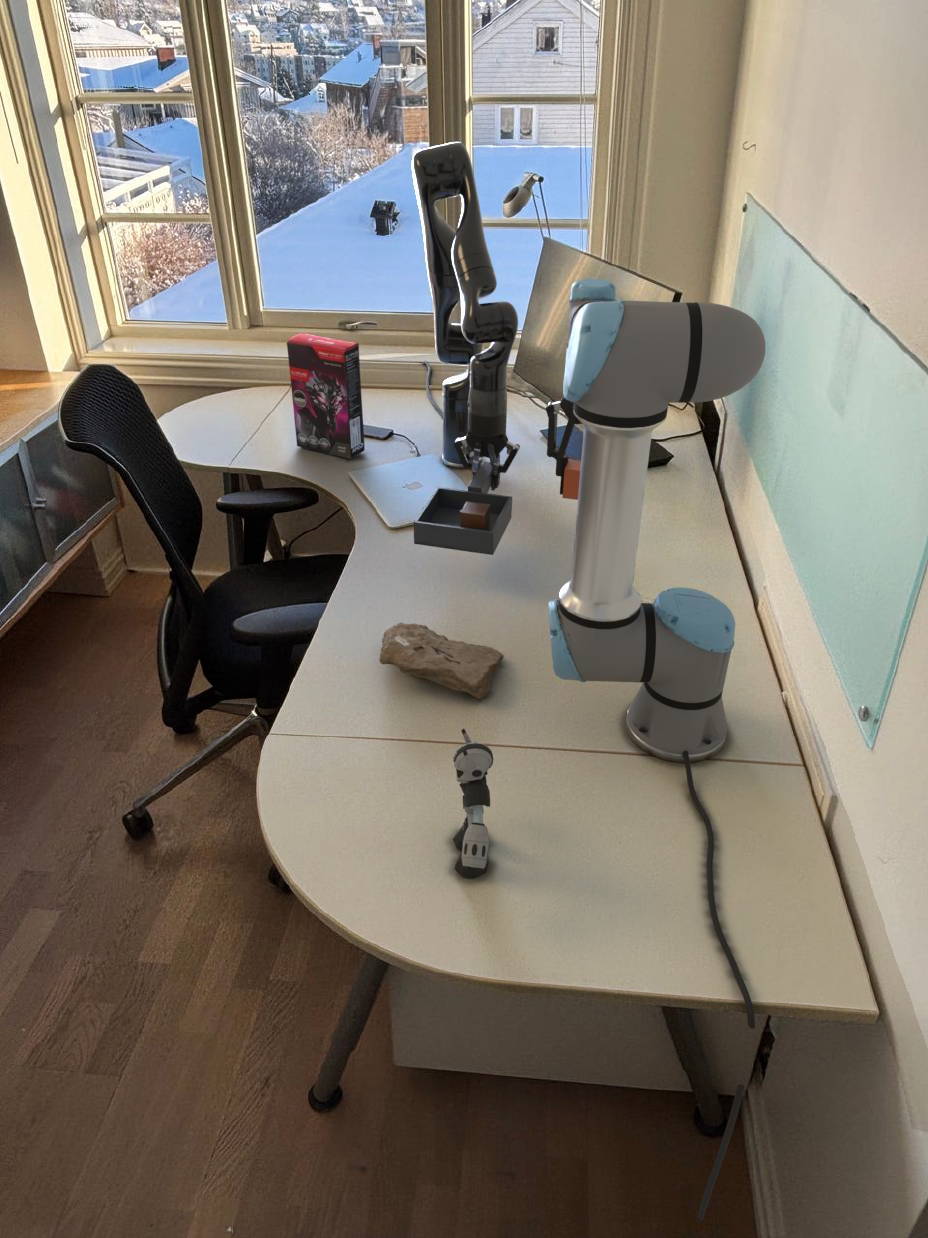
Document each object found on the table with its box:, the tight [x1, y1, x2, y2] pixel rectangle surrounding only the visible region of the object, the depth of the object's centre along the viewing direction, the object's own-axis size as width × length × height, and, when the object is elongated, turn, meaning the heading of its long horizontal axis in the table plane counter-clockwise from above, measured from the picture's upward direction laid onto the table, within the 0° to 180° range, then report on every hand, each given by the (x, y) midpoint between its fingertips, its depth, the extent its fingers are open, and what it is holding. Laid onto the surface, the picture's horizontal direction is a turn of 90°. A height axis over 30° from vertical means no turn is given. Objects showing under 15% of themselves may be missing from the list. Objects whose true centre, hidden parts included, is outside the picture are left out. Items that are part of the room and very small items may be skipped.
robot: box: [452, 728, 494, 879], centre depth 116 cm, size 20×5×20 cm, turn 3°
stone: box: [379, 622, 505, 699], centre depth 153 cm, size 21×15×6 cm
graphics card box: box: [286, 332, 366, 459], centre depth 224 cm, size 17×7×27 cm, turn 62°
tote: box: [413, 461, 513, 556], centre depth 180 cm, size 27×15×6 cm, turn 165°
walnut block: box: [460, 502, 490, 531], centre depth 171 cm, size 4×4×6 cm
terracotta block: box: [562, 458, 581, 501], centre depth 173 cm, size 4×4×6 cm
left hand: (485, 487), depth 189 cm, fingers closed on tote, 2 cm apart
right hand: (576, 492), depth 174 cm, fingers closed on terracotta block, 4 cm apart
